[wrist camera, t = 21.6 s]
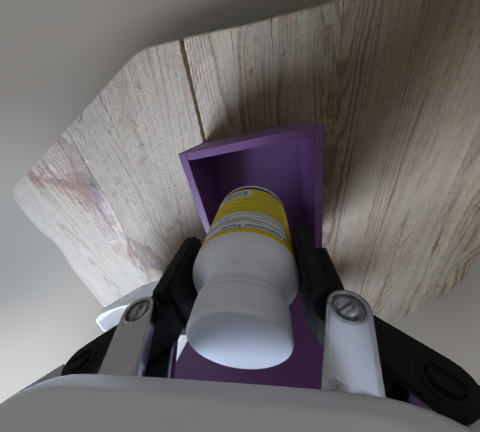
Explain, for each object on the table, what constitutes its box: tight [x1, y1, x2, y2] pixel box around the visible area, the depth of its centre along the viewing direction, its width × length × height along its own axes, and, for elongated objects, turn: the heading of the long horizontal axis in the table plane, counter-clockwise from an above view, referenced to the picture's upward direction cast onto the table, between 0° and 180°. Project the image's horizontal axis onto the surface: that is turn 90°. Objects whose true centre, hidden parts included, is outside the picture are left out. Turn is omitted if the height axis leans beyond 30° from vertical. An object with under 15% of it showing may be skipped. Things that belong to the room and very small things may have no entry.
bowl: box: [96, 280, 188, 361], centre depth 37 cm, size 22×22×12 cm
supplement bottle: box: [186, 186, 300, 369], centre depth 11 cm, size 5×5×10 cm
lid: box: [174, 289, 324, 390], centre depth 15 cm, size 18×14×5 cm
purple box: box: [178, 121, 324, 248], centre depth 24 cm, size 18×14×9 cm
